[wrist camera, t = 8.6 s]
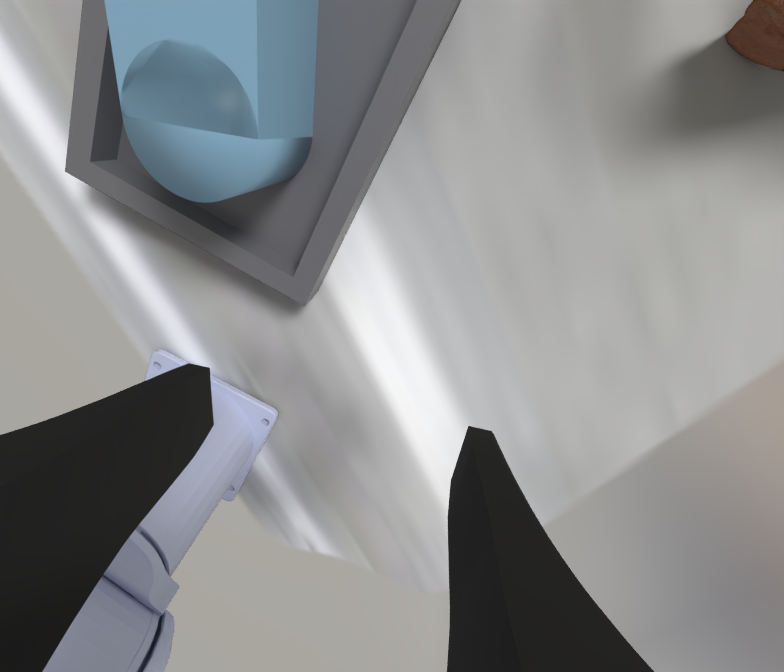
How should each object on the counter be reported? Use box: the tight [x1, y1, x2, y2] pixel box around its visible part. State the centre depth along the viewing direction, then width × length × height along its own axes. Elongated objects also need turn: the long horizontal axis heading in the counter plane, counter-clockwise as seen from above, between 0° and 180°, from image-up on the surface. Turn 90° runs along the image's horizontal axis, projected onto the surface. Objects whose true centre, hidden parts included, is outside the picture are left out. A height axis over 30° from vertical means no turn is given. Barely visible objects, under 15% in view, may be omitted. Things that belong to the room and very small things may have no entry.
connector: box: [104, 0, 319, 203], centre depth 13 cm, size 10×4×5 cm, turn 172°
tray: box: [65, 0, 461, 306], centre depth 15 cm, size 16×12×2 cm
